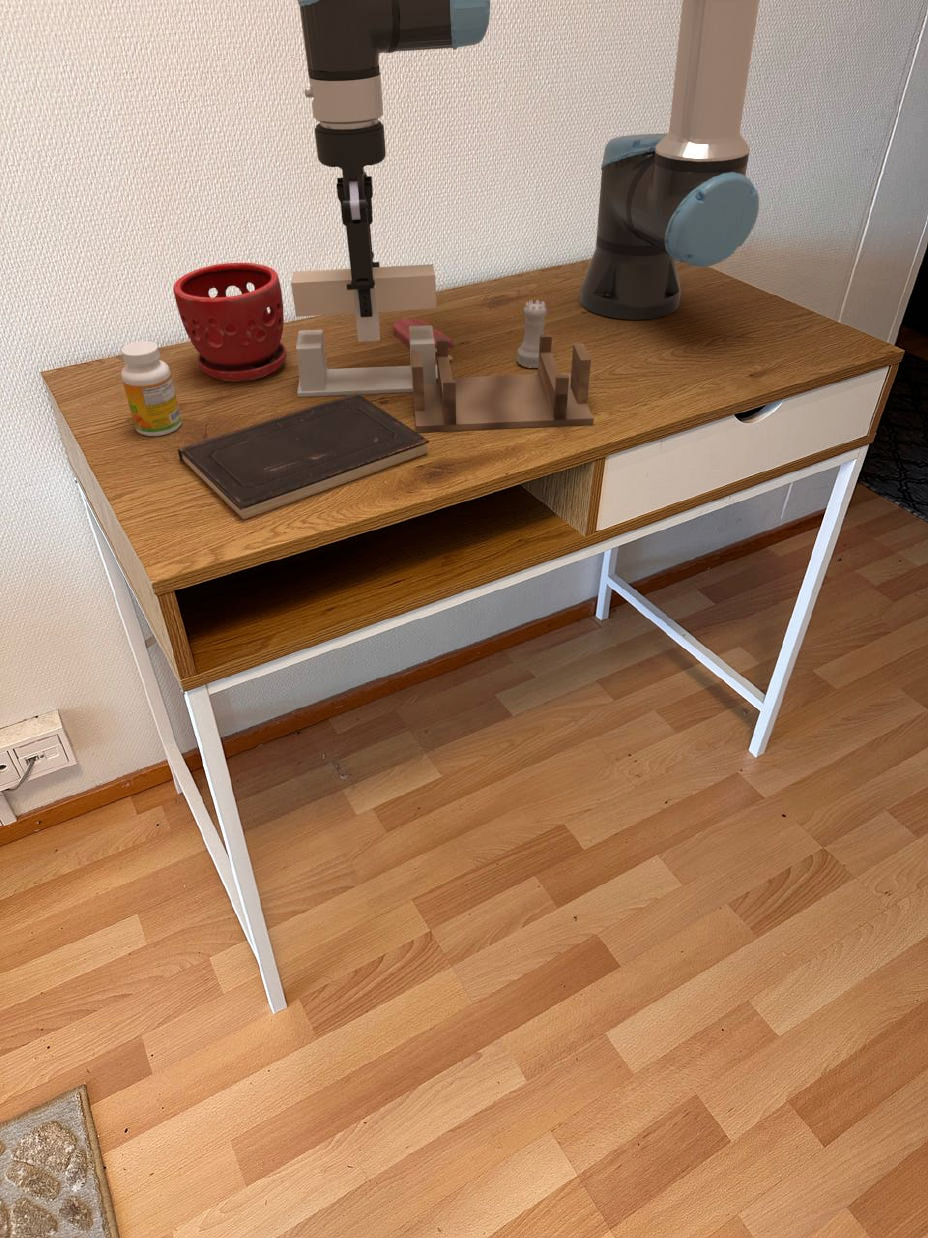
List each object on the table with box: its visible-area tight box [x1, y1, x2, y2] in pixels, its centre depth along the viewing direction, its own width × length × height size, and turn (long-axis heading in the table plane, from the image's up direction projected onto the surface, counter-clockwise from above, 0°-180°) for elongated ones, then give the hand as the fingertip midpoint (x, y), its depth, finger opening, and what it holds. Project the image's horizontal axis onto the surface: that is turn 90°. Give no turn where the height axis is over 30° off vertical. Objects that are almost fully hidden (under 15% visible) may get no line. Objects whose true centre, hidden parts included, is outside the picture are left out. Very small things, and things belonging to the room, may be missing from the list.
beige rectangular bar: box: [290, 263, 438, 318], centre depth 106 cm, size 17×4×4 cm, turn 95°
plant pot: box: [172, 262, 287, 382], centre depth 114 cm, size 13×13×12 cm
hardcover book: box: [177, 393, 430, 520], centre depth 98 cm, size 16×23×2 cm
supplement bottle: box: [120, 340, 182, 437], centre depth 101 cm, size 5×5×10 cm
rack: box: [411, 333, 595, 433], centre depth 107 cm, size 21×13×6 cm, turn 95°
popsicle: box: [392, 318, 454, 362], centre depth 123 cm, size 5×2×15 cm
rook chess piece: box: [516, 299, 549, 368], centre depth 116 cm, size 4×4×8 cm
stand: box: [295, 324, 438, 398], centre depth 112 cm, size 18×7×6 cm, turn 95°
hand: (369, 332), depth 110 cm, fingers closed on beige rectangular bar, 4 cm apart
